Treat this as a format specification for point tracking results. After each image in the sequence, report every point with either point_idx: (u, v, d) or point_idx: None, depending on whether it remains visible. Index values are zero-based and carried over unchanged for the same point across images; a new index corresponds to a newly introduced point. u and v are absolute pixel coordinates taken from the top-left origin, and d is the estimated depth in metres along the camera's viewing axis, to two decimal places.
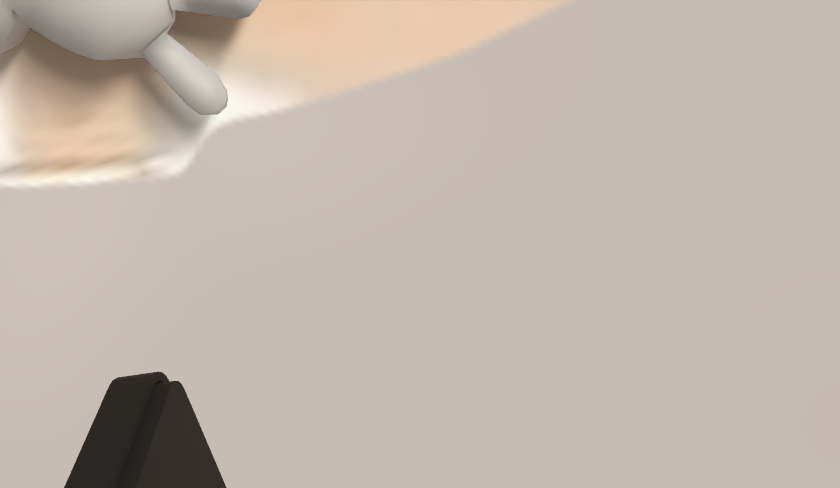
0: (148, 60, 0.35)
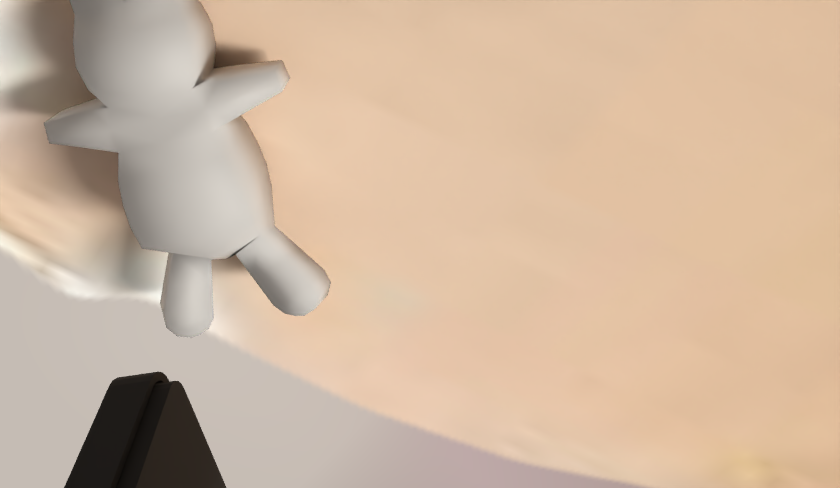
0: (173, 263, 0.33)
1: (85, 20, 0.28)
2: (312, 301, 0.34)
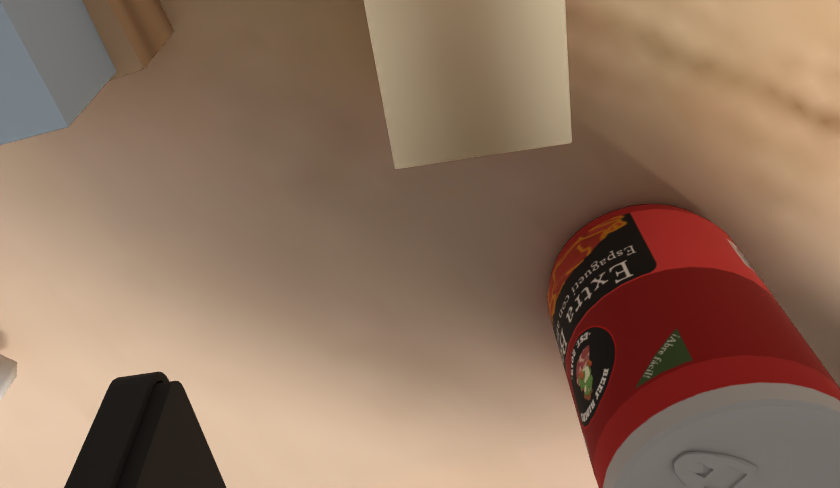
0: None
1: None
2: None
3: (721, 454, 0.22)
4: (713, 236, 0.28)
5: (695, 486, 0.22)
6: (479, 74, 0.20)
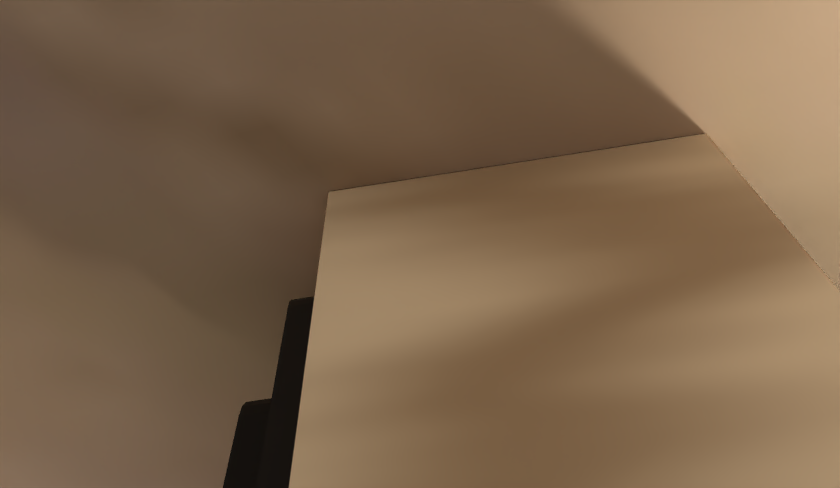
0: None
1: None
2: None
3: None
4: None
5: None
6: None
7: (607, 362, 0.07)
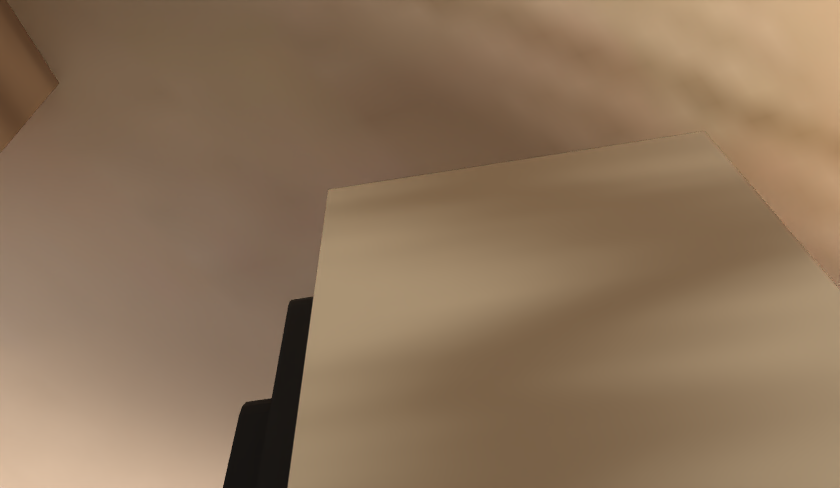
0: None
1: None
2: None
3: None
4: None
5: None
6: None
7: (605, 357, 0.07)
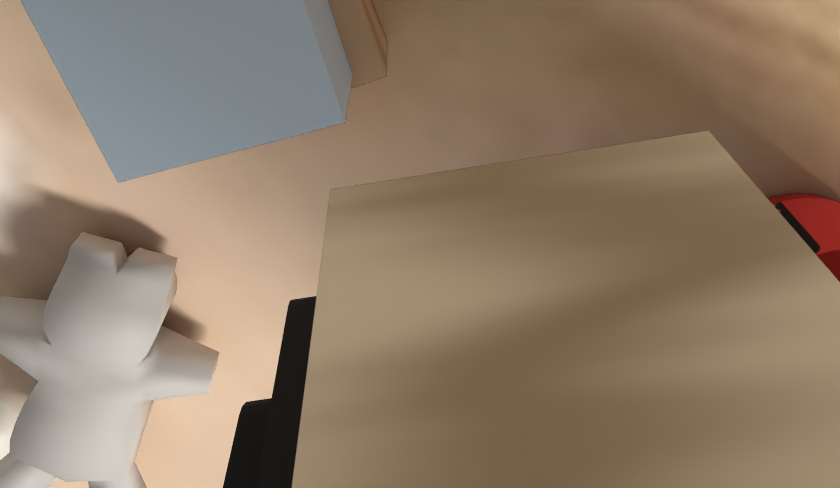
0: None
1: (74, 271, 0.30)
2: None
3: None
4: None
5: None
6: None
7: (611, 359, 0.07)
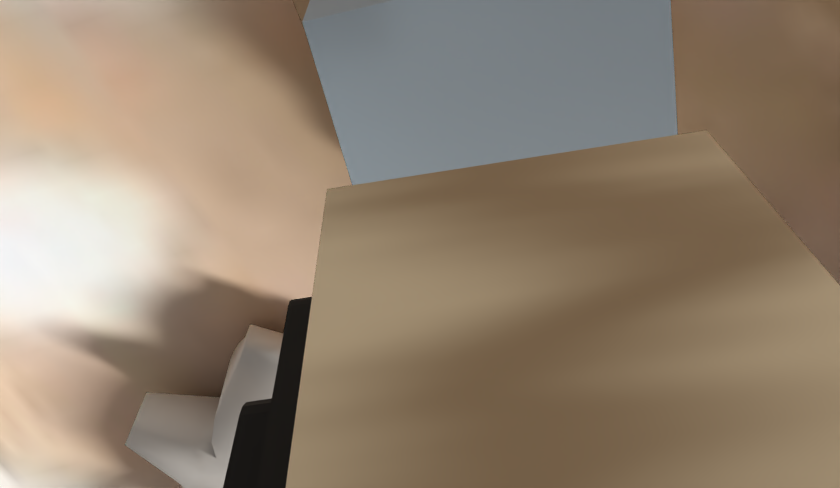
0: None
1: (247, 375, 0.26)
2: None
3: None
4: None
5: None
6: None
7: (608, 360, 0.07)
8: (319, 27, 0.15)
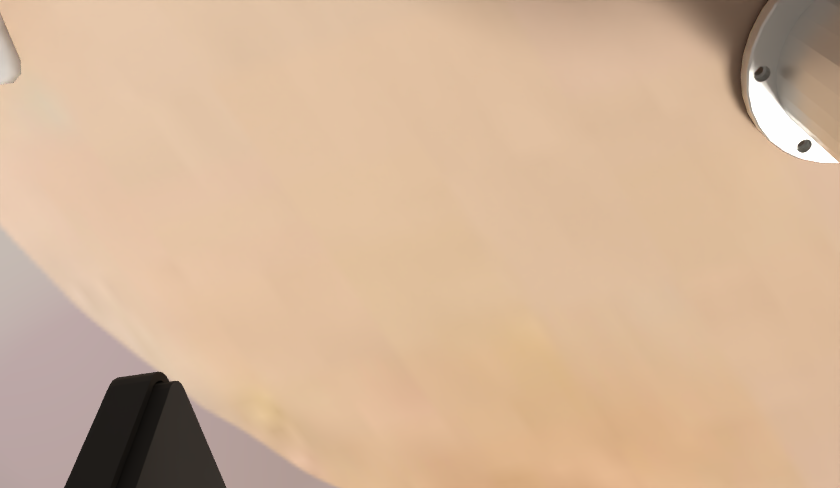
0: None
1: None
2: None
3: None
4: None
5: None
6: None
7: None
8: None
